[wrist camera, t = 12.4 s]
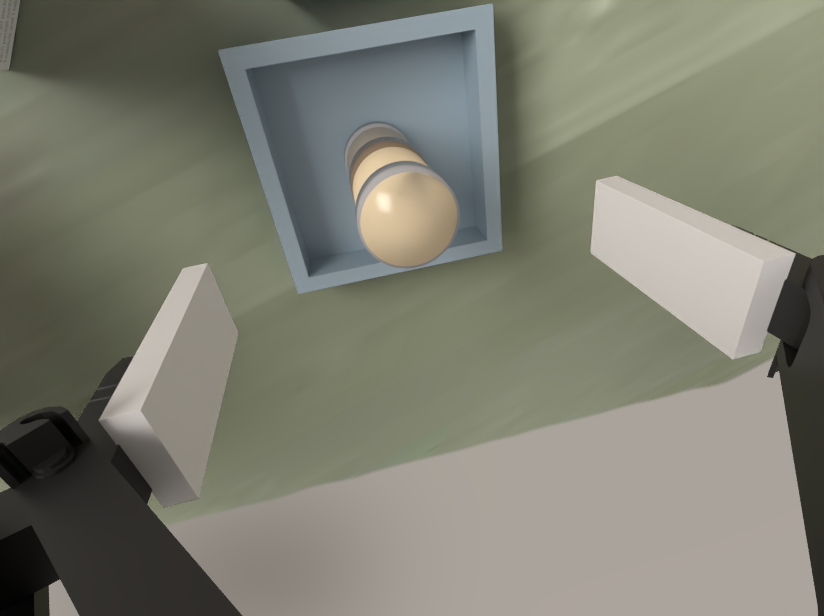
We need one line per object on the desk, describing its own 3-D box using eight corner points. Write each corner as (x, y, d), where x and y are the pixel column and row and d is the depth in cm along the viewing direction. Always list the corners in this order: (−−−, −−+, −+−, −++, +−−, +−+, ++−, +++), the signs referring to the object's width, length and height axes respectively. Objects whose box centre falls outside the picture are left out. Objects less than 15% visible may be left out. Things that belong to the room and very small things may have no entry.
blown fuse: (352, 195, 29) (369, 277, 19) (337, 128, 27) (347, 180, 17) (414, 183, 29) (463, 257, 19) (404, 115, 27) (454, 159, 17)
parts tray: (299, 270, 32) (297, 294, 29) (229, 48, 25) (217, 50, 22) (486, 231, 33) (502, 250, 30) (473, 7, 26) (492, 3, 23)
